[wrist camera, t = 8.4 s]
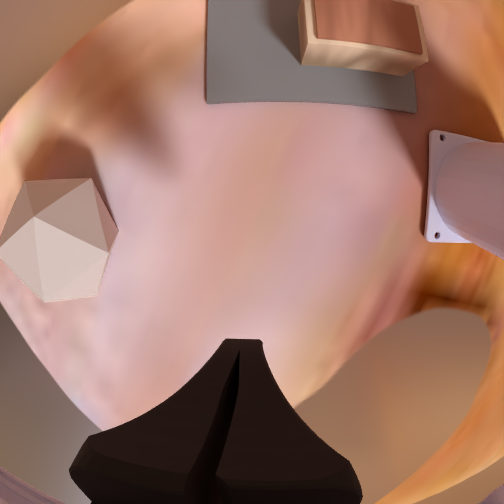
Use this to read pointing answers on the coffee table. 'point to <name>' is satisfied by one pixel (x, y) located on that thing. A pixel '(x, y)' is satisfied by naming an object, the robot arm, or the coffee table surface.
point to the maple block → (362, 35)
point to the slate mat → (285, 62)
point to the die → (58, 238)
